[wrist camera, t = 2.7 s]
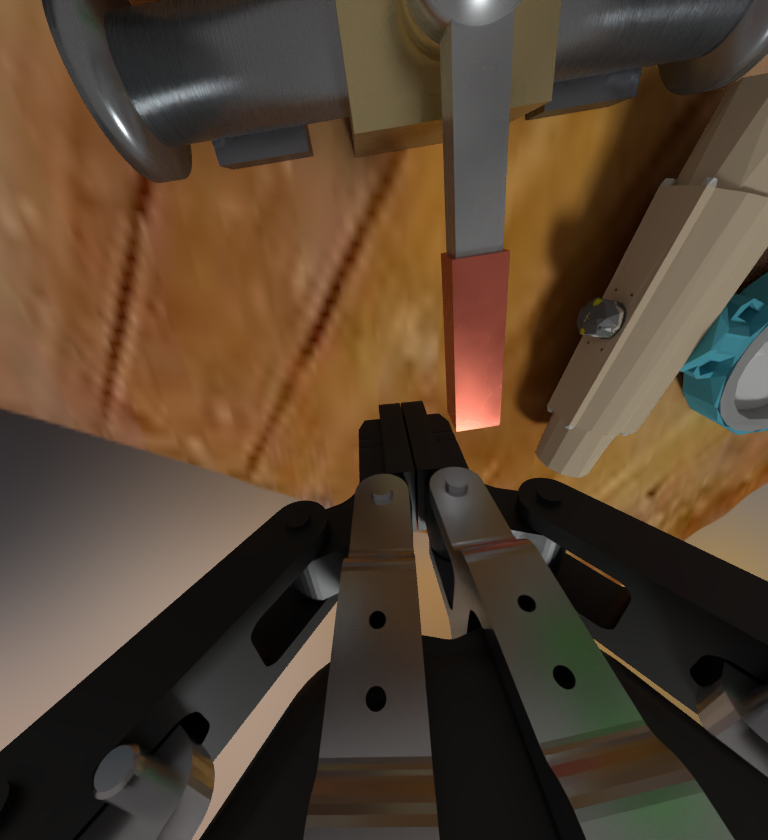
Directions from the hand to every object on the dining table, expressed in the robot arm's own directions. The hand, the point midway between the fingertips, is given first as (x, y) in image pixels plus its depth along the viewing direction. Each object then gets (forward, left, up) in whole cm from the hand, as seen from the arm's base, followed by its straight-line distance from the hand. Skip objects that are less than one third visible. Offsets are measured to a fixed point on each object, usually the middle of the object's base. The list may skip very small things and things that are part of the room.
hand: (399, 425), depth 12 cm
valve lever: (-5, +4, -6) cm, 9 cm away
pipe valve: (-12, +4, -17) cm, 21 cm away
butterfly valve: (+7, +28, -17) cm, 33 cm away
